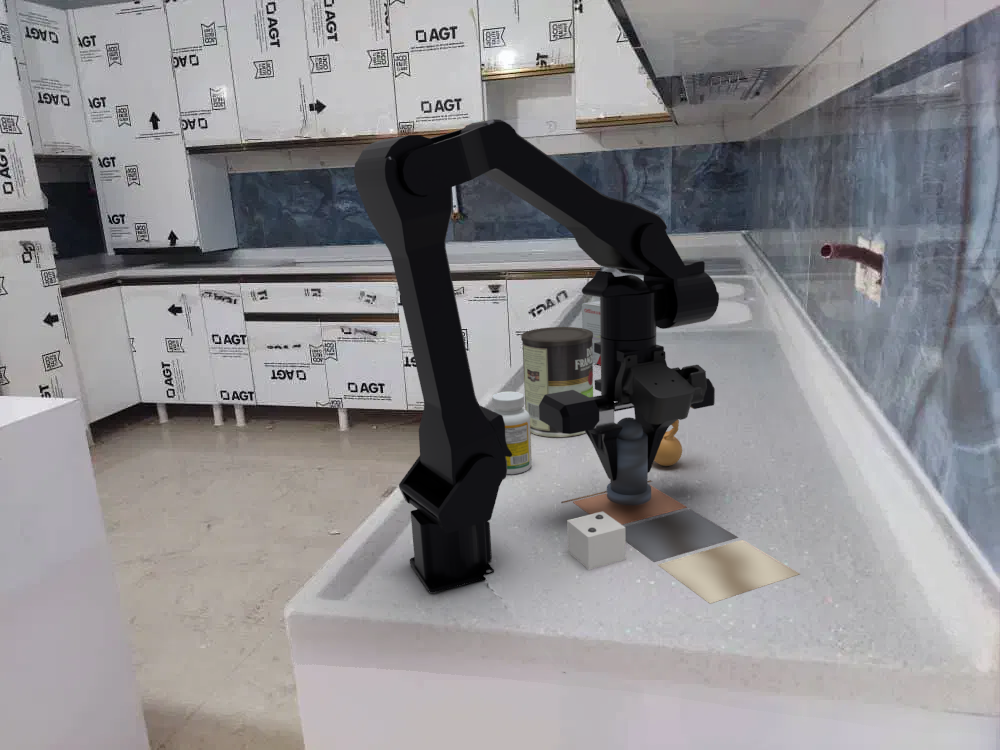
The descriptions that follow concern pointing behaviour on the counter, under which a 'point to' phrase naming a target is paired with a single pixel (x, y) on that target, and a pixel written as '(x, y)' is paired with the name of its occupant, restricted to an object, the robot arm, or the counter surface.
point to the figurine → (669, 448)
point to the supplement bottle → (515, 429)
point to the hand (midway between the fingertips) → (628, 475)
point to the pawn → (631, 466)
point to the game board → (691, 546)
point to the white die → (596, 540)
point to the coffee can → (555, 369)
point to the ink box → (592, 324)
